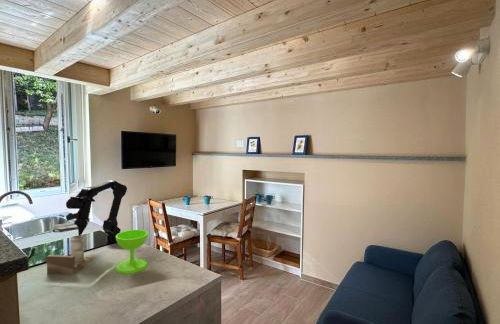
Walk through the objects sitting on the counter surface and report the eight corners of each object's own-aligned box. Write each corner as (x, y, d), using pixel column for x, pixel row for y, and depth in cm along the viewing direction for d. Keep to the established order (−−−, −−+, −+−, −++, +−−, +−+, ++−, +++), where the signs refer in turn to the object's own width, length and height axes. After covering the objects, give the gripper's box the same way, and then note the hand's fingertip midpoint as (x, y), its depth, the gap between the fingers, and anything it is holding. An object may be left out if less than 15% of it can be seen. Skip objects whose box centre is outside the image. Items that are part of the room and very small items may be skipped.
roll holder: (72, 259, 147) (72, 242, 147) (96, 260, 147) (96, 243, 146) (45, 276, 128) (45, 256, 128) (73, 277, 128) (72, 257, 128)
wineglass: (150, 269, 139) (150, 236, 138) (117, 276, 130) (117, 241, 129) (144, 258, 152) (145, 228, 151) (114, 263, 144) (114, 232, 143)
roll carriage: (75, 258, 146) (74, 234, 145) (90, 259, 146) (90, 234, 145) (63, 266, 137) (62, 239, 136) (79, 266, 137) (79, 240, 136)
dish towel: (78, 223, 215) (78, 219, 215) (83, 228, 203) (83, 224, 202) (50, 227, 202) (50, 223, 202) (53, 233, 190) (53, 229, 189)
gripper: (70, 206, 159) (65, 232, 156) (66, 208, 143) (60, 237, 140) (91, 208, 164) (87, 233, 162) (89, 210, 148) (84, 238, 145)
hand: (79, 235), depth 152 cm, fingers closed
